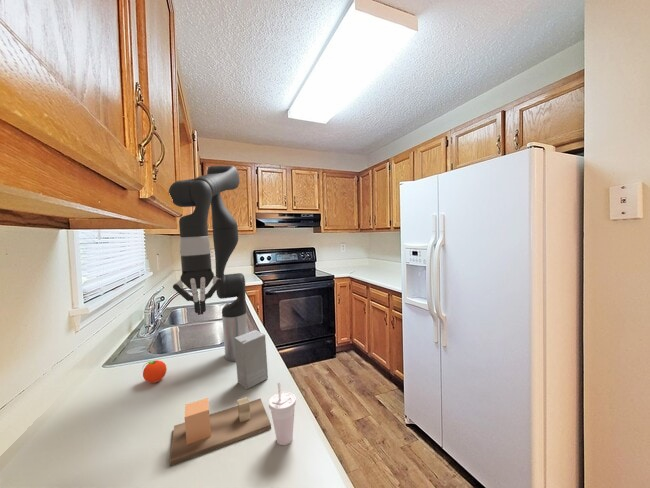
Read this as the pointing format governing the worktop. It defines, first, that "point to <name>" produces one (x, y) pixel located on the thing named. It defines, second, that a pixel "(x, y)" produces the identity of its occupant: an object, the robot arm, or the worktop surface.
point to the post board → (222, 430)
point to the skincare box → (251, 358)
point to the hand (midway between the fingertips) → (200, 313)
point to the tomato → (154, 371)
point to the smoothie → (283, 415)
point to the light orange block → (197, 421)
